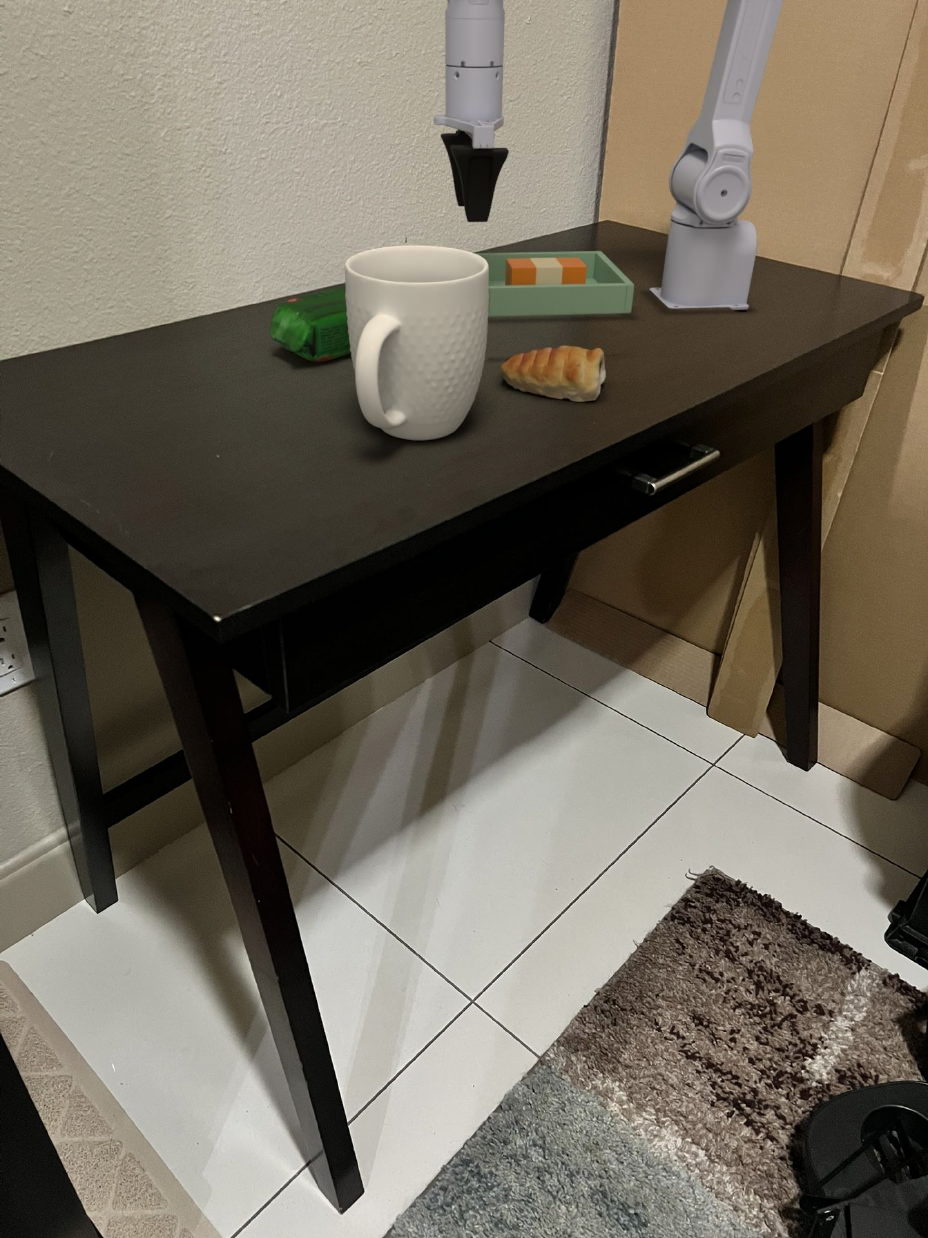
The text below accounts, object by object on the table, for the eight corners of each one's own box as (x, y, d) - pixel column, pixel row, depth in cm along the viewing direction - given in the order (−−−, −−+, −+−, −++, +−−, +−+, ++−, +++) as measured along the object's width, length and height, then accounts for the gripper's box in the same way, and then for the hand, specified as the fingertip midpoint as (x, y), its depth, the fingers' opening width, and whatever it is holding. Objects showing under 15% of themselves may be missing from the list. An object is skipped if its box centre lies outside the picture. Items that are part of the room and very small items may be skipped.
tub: (598, 281, 113) (601, 250, 111) (630, 318, 102) (634, 284, 100) (464, 284, 112) (464, 252, 109) (481, 321, 100) (482, 287, 98)
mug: (436, 484, 68) (435, 305, 61) (305, 458, 71) (289, 285, 64) (503, 411, 80) (509, 253, 72) (388, 392, 83) (382, 238, 75)
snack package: (429, 339, 95) (429, 287, 92) (300, 373, 86) (295, 317, 83) (387, 323, 99) (385, 273, 96) (260, 354, 90) (254, 299, 88)
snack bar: (576, 289, 108) (578, 256, 106) (584, 299, 105) (586, 266, 103) (504, 290, 107) (506, 258, 105) (510, 300, 104) (512, 267, 102)
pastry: (494, 394, 83) (496, 353, 80) (507, 369, 88) (509, 329, 86) (599, 405, 81) (604, 362, 79) (606, 378, 87) (610, 338, 84)
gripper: (426, 59, 96) (428, 199, 104) (442, 72, 84) (442, 229, 92) (493, 59, 97) (490, 198, 105) (518, 72, 85) (512, 228, 93)
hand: (472, 213), depth 99 cm, fingers open, 7 cm apart
